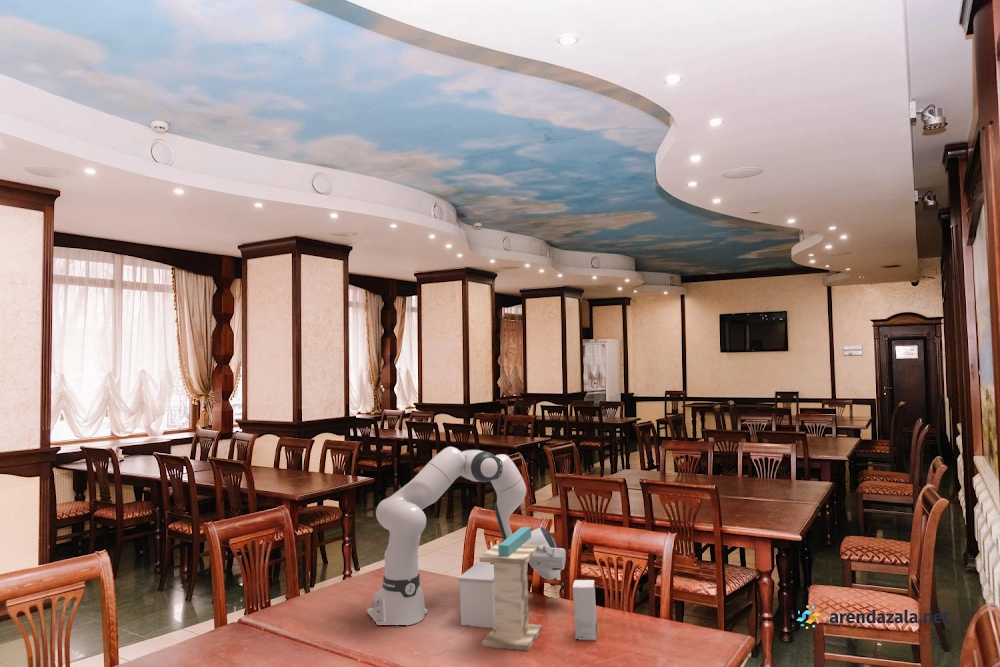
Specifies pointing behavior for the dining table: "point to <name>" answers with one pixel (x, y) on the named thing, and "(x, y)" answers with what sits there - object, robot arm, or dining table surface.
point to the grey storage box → (478, 596)
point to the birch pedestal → (511, 599)
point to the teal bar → (514, 541)
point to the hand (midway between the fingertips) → (531, 547)
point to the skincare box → (584, 610)
